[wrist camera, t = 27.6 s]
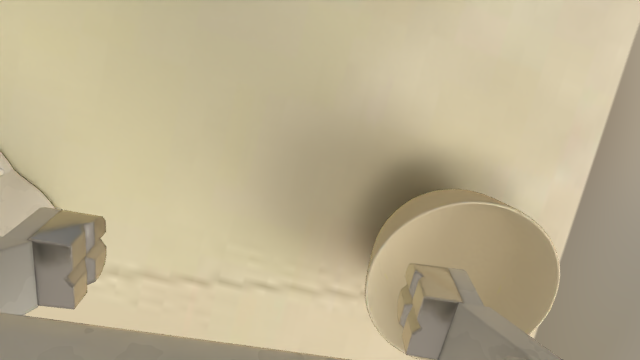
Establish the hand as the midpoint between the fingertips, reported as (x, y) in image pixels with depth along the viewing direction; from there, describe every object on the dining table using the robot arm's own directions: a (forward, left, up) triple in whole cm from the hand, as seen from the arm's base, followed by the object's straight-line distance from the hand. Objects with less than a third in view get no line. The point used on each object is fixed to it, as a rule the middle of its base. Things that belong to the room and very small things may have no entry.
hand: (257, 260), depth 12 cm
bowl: (+16, -13, -31) cm, 37 cm away
